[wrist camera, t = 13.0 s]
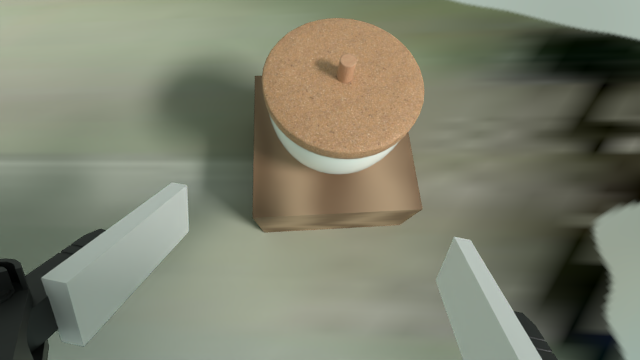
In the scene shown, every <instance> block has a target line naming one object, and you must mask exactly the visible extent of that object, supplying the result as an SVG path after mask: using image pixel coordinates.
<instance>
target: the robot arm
mask: <svg viewBox="0 0 640 360" xmlns="http://www.w3.org/2000/svg"><path fill="white" fill-rule="evenodd" d="M188 232H189V218H188V192H187V185H184V184H179V183H174V182H172V183H170V184H169V185H168V186H166V187H165V188H163V189H162V190H161V191H159V192H158V193H157V194H155V195H154V196H152V197H151V198H150V199H148V200H147V201H146V202H144V203H143V204H141V205H140V206H139V207H137V208H136V209H135V210H133V211H132V212H131V213H129V214H128V215H126V216H125V217H124V218H122V219H121V220H120V221H118V222H117V223H115V224H114V225H113V226H111V227H110V228H109V229H107V230H103V229H99V230H96V231H94V232H91V233H89V234H86V235H84V236H83V237H81V238H80V239H78V240H77V241H75V242H74V243H72V245H71V246H68V247H67V248H65V249H64V250H62V251H61V253H58V254H57V255H55V256H54V257H52V258H51V259H49V260H48V261H46V262H45V263H43V264H42V265H41V266H39V267H38V268H36V269H35V270H33V271H32V272H30V273H29V274H28V275H26V276H25V274H24V272H23V269H22V266H21V263H20V262H18V261H17V260H14V259H0V360H47V358H48V350H49V344H48V340H47V339H48V338H49V337H50V336H51V335H52V334H53V333H54V332H55V331H57V330H58V332H59V336H60V339H61V342H65V343H69V344H74V345H79V346H83V347H84V346H85V345H86V344H87V343H88V342H89V341H90V340H91V338H92V337H93V336H94V335H95V334H96V333H97V332H98V331H99V330H100V329H101V327H102V326H103V325H104V324H105V323H106V322H107V321H108V320H109V319H110V318H111V316H112V315H113V314H114V313H115V312H116V311H117V310H118V309H119V308H120V307H121V305H122V304H123V303H124V302H125V301H126V300H127V299H128V298H129V297H130V296H131V294H132V293H133V292H134V291H135V290H136V289H137V288H138V287H139V286H140V285H141V283H142V282H143V281H144V280H145V279H146V278H147V277H148V276H149V275H150V274H151V272H152V271H153V270H154V269H155V268H156V267H157V266H158V265H159V264H160V263H161V261H162V260H163V259H164V258H165V257H166V256H167V255H168V254H169V253H170V252H171V250H172V249H173V248H174V247H175V246H176V245H177V244H178V243H179V242H180V241H181V239H182V238H183V237H184V236H185V235H186V234H187V233H188ZM436 283H437V286H438V289H439V292H440V294H441V297H442V300H443V303H444V306H445V309H446V312H447V315H448V318H449V320H450V323H451V326H452V329H453V332H454V335H455V338H456V341H457V344H458V346H459V349H460V352H461V355H462V358H463V360H558V359H557V358H556V356H555V355H554V354H553V353H552V350H551V349H550V347H549V346H548V344H547V342H545V341H544V338H543V336H542V335H541V333H540V332H539V330H538V329H537V327H536V326H535V325H534V324H533V323H532V322H531V321H530V320H529V319H528V318H527V317H526V316H525V315H524V314H523V313H520V312H515V311H513V310H512V308H511V307H510V305H509V303H508V302H507V300H506V298H505V297H504V295H503V293H502V292H501V290H500V288H499V287H498V285H497V283H496V282H495V280H494V278H493V277H492V275H491V273H490V272H489V270H488V268H487V267H486V265H485V263H484V262H483V260H482V258H481V257H480V255H479V253H478V252H477V250H476V249H475V247H474V245H473V244H472V242H471V240H468V239H463V238H458V237H454V238H453V241H452V243H451V245H450V248H449V250H448V252H447V255H446V257H445V260H444V262H443V264H442V267H441V269H440V271H439V274H438V276H437V278H436Z"/></svg>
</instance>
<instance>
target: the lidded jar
mask: <svg viewBox="0 0 640 360" xmlns="http://www.w3.org/2000/svg"><path fill="white" fill-rule="evenodd" d="M262 90H263V95H264V100H265V104H266V107H267V110H268V112H269V115H270V119H271V123H272V125H273V127H274V130H275V132H276V134H277V136H278V138H279V140H280V141H281V143H282V144H283V146H284V147H285V149H286V150H287V151H288V152H289V153H290V154H291V155H292V156H293V157H294V158H295V159H296V160H298V161H299V162H300V163H302V164H303V165H305V166H307V167H309V168H311V169H313V170H316V171H319V172H323V173H327V174H350V173H354V172H359V171H361V170H364V169H366V168H368V167H370V166H372V165H374V164H375V163H377V162H378V161H380V160H381V159H383V158H384V157H385V156H386V155H387V154H388V153H389V152H390V151H392V150H393V149H394V147H395V146H396V145H397V144H398V142H399V141H400V140H401V139H402V138H403V137H404V136H405V135H406V134H407V132H408V131H409V130H410V129H411V127H412V126H413V125H414V123H415V122H416V120H417V118H418V116H419V114H420V112H421V108H422V105H423V100H424V83H423V78H422V75H421V71H420V69H419V66H418V64H417V62H416V60H415V59H414V57H413V56H412V54H411V53H410V51H409V50H408V49H407V48H406V47H405V46H404V45H403V44H402V43H401V42H400V41H399V40H398V39H396V38H395V37H394V36H393V35H391V34H389V33H388V32H386V31H384V30H383V29H380V28H378V27H376V26H374V25H371V24H368V23H365V22H362V21H357V20H353V19H342V18H332V19H323V20H317V21H313V22H310V23H306V24H304V25H302V26H300V27H298V28H296V29H294V30H292V31H291V32H289V33H287V34H286V35H285V36H284V37H283V38H282V39H281V40H280V41H278V43H277V44H276V45H275V46H274V48H273V49H272V50H271V52H270V54H269V55H268V57H267V59H266V62H265V65H264V68H263V74H262Z"/></svg>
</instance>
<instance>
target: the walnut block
mask: <svg viewBox="0 0 640 360" xmlns="http://www.w3.org/2000/svg"><path fill="white" fill-rule="evenodd" d="M421 210H422V204H421V199H420V193H419V188H418V183H417V177H416V172H415V166H414V161H413V156H412V150H411V145H410V139H409V134H408V132H407V134H406V135H405V136H404V137H403V138H402V139H401V140H400V141H399V142H398V144H397V145H396V146H395V147H394V149H393V150H392V151H390V152H389V153H388V154H387V155H386V156H385V157H384V158H383V159H381V160H380V161H378V162H377V163H375V164H374V165H372V166H370V167H368V168H366V169H364V170H361V171H359V172H354V173H350V174H327V173H323V172H319V171H316V170H313V169H311V168H309V167H307V166H305V165H303V164H302V163H300V162H299V161H298V160H296V159H295V158H294V157H293V156H292V155H291V154H290V153H289V152H288V151H287V150H286V149H285V147H284V146H283V144H282V143H281V141H280V140H279V138H278V136H277V134H276V132H275V130H274V127H273V125H272V123H271V119H270V115H269V112H268V110H267V107H266V104H265V100H264V95H263V90H262V76H255V105H254V162H253V219H254V220H255V222H256V223H257V224H258V225H259V227H260V228H261V229H262V230H263V232H281V231H299V230H317V229H336V228H354V227H372V226H391V225H400V224H402V223H403V222H404V221H406V220H407V219H409V218H410V217H412V216H413V215H415V214H416V213H418V212H419V211H421Z"/></svg>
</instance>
